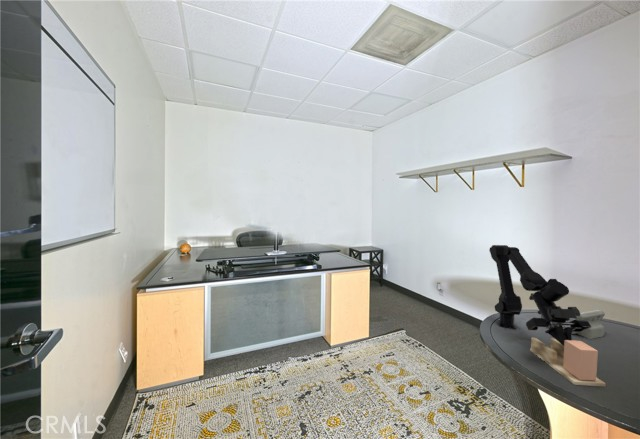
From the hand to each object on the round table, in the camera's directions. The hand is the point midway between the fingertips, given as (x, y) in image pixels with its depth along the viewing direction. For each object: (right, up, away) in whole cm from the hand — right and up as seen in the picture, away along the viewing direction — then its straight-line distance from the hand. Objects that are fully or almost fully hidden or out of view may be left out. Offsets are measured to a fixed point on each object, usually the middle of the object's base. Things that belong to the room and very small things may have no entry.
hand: (571, 350), depth 87 cm
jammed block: (0, -7, -3) cm, 7 cm away
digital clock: (+33, -7, +27) cm, 43 cm away
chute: (0, -7, +3) cm, 8 cm away
